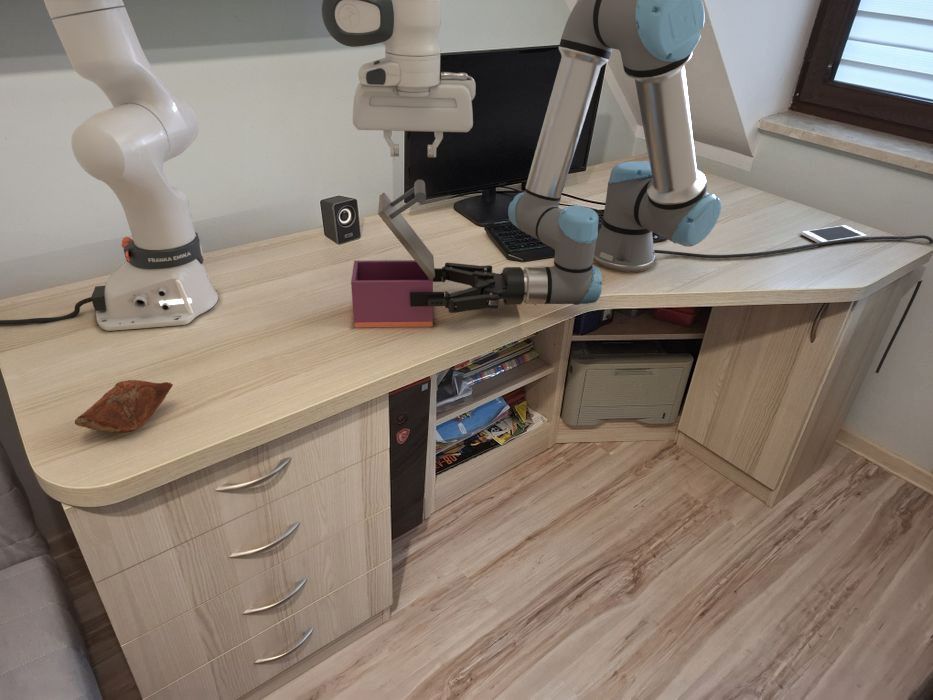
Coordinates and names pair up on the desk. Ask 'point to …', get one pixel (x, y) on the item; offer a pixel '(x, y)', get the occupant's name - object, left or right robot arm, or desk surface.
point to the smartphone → (832, 234)
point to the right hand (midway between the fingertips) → (410, 286)
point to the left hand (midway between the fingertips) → (413, 156)
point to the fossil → (125, 406)
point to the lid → (407, 226)
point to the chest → (389, 294)
